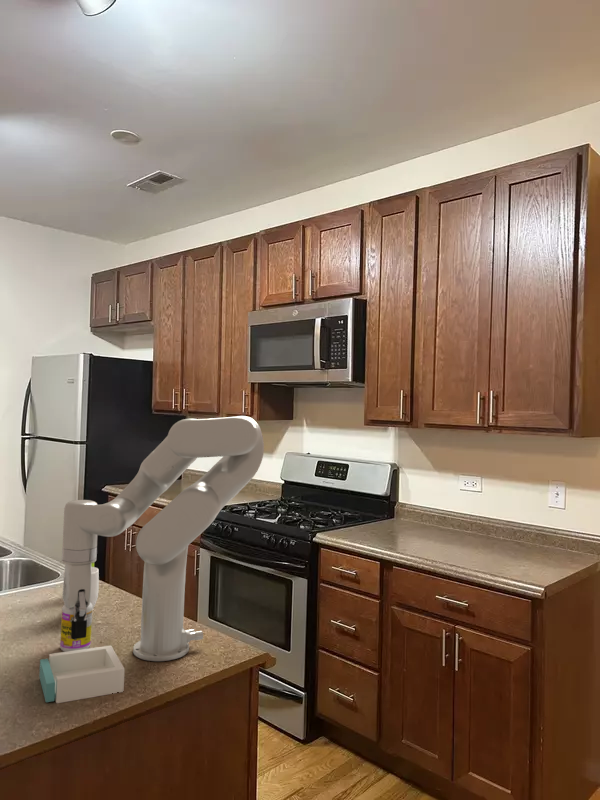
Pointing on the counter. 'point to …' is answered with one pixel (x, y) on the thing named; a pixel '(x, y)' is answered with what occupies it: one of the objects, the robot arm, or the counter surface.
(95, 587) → the mug
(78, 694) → the housing
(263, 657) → the counter surface
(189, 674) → the counter surface
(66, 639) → the supplement bottle
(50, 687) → the gate
